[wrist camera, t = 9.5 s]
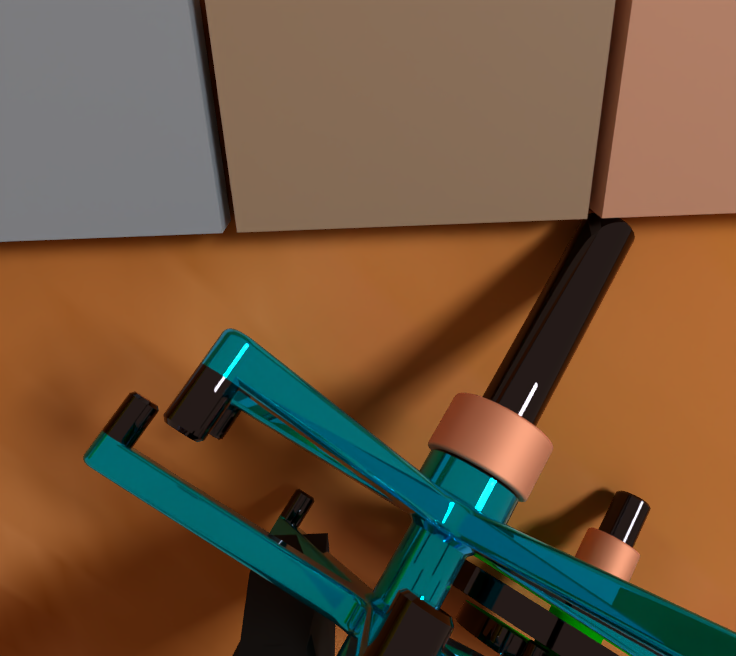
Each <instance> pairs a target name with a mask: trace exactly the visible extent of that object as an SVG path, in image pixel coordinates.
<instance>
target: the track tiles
mask: <svg viewBox="0 0 736 656" xmlns="http://www.w3.org/2000/svg"><path fill="white" fill-rule="evenodd" d="M205 5H206V12H207V20H208V27H209V34H210V41H211V48H212V56H213V63H214V70H215V77H216V84H217V92H218V99H219V106H220V113H221V120H222V128H223V135H224V142H225V149H226V156H227V164H228V171H229V178H230V185H231V192H232V200H233V207H234V214H235V221H236V228H237V232H263V231H288V230H314V229H340V228H365V227H391V226H416V225H442V224H467V223H493V222H519V221H544V220H570V219H587V217H588V209H589V208H590V209H591V210H592V211H593V212H595V213H596V214H597V215H598V216H600V217H601V218H621V217H646V216H672V215H698V214H723V213H736V0H205ZM230 221H231V218H230V211H229V204H228V197H227V190H226V183H225V176H224V169H223V162H222V154H221V147H220V140H219V133H218V126H217V119H216V112H215V105H214V98H213V91H212V84H211V77H210V70H209V63H208V56H207V49H206V42H205V35H204V28H203V21H202V14H201V7H200V0H0V242H7V241H33V240H58V239H84V238H109V237H135V236H161V235H186V234H212V233H223V232H224V230H225V229H226V227H227V226H228V224H229V223H230Z"/></svg>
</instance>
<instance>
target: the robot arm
mask: <svg viewBox="0 0 736 656" xmlns="http://www.w3.org/2000/svg"><path fill="white" fill-rule="evenodd" d="M303 535H304V536H305V537H306V538H308V539H309V540H310V541H311V542H312V543H314V544H315V545H316V546H317V547H319V548H320V549H321V550H322V551H324V552H325V553H326V552H329V542H328V533H322V534H303ZM274 536H275V537H277V538H279V539H280V540H282V541H283V542H285V543H287V544H288V545H290V546H291V547H293V548H295V549H296V550H298V551H299V552H301V553H303V551H302V548H301V546H300V543H299V541H298V537H297V534H295V535H274ZM233 656H335V623H333V622H332V621H330V620H329V619H327V618H326V617H324V616H323V615H321V614H320V613H318V612H316V611H315V610H313V609H312V608H310V607H309V606H307V605H305V604H304V603H302V602H301V601H299V600H298V599H296V598H294V597H293V596H291V595H290V594H288V593H287V592H285V591H283V590H282V589H280V588H279V587H277V586H276V585H274V584H272V583H271V582H269V581H268V580H266V579H265V578H263V577H261V576H260V575H258V574H257V573H255V572H254V571H252V570H251V571H250V574H249V581H248V588H247V596H246V603H245V610H244V618H243V625H242V633H241V640H240V642H239V644H238V646H237V648H236V650H235V652H234V654H233Z"/></svg>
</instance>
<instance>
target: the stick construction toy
mask: <svg viewBox="0 0 736 656" xmlns="http://www.w3.org/2000/svg"><path fill="white" fill-rule="evenodd" d="M634 238H635V236H634V232H633V231H632V229H631V227H630V226H629V225H628V224H627V223H626V222H625V221H624V220H622V219H621V218H601V217H600V216H598V215H597V214H596V213H590V214H588V217H587V219H582V221H581V223H580V224H579V226H578V228H577V230H576V231H575V233H574V235H573V237H572V239H571V240H570V242H569V244H568V246H567V247H566V249H565V251H564V253H563V255H562V256H561V258H560V260H559V262H558V263H557V265H556V267H555V269H554V271H553V272H552V274H551V276H550V278H549V279H548V281H547V283H546V285H545V287H544V288H543V290H542V292H541V294H540V295H539V297H538V299H537V301H536V302H535V304H534V306H533V308H532V310H531V311H530V313H529V315H528V317H527V318H526V320H525V322H524V324H523V326H522V327H521V329H520V331H519V333H518V334H517V336H516V338H515V340H514V342H513V343H512V345H511V347H510V349H509V350H508V352H507V354H506V356H505V358H504V359H503V361H502V363H501V365H500V366H499V368H498V370H497V372H496V374H495V375H494V377H493V379H492V381H491V382H490V384H489V386H488V388H487V389H486V391H485V393H484V395H483V397H481V396H478V395H474V394H470V393H458V394H457V395H455V397H454V399H453V401H452V402H451V404H450V406H449V407H448V409H447V411H446V413H445V414H444V416H443V418H442V420H441V421H440V423H439V425H438V426H437V428H436V430H435V432H434V433H433V435H432V437H431V439H430V440H429V442H428V446H429V448H430V449H431V451H430V453H429V455H428V457H427V458H426V460H425V462H424V464H423V465H422V467H421V469H420V471H419V470H418V469H416V468H415V467H414V466H413V465H411V464H410V463H409V462H407V461H406V460H405V459H404V458H402V457H401V456H400V455H399V454H397V453H396V452H395V451H393V450H392V449H391V448H390V447H388V446H387V445H386V444H385V443H383V442H382V441H381V440H380V439H378V438H377V437H376V436H374V435H373V434H372V433H371V432H369V431H368V430H367V429H366V428H364V427H363V426H362V425H360V424H359V423H358V422H357V421H355V420H354V419H353V418H352V417H350V416H349V415H348V414H347V413H345V412H344V411H343V410H341V409H340V408H339V407H338V406H336V405H335V404H334V403H333V402H331V401H330V400H329V399H327V398H326V397H325V396H324V395H322V394H321V393H320V392H319V391H317V390H316V389H315V388H313V387H312V386H311V385H310V384H308V383H307V382H306V381H305V380H303V379H302V378H301V377H300V376H298V375H297V374H296V373H294V372H293V371H292V370H291V369H289V368H288V367H287V366H286V365H284V364H283V363H282V362H280V361H279V360H278V359H277V358H275V357H274V356H273V355H272V354H270V353H269V352H268V351H266V350H265V349H264V348H263V347H261V346H260V345H259V344H258V343H256V342H255V341H254V340H252V339H251V338H250V337H248V336H247V335H245V334H244V333H242V332H240V331H238V330H236V329H232V328H229V329H226V330H224V331H223V332H222V334H221V335H220V337H219V338H218V339H217V341H216V342H215V343H214V345H213V346H212V348H211V349H210V350H209V352H208V353H207V355H206V356H205V357H204V359H203V360H202V362H201V363H200V364H199V366H198V367H197V369H196V370H195V371H194V373H193V374H192V376H191V377H190V378H189V380H188V381H187V383H186V384H185V385H184V387H183V388H182V390H181V391H180V392H179V394H178V395H177V396H176V398H175V399H174V401H173V402H172V403H171V405H170V406H169V408H168V409H167V410H166V412H165V413H164V420H165V422H166V423H167V424H168V425H170V426H171V427H173V428H174V429H176V430H177V431H179V432H181V433H182V434H184V435H185V436H187V437H189V438H190V439H192V440H194V441H196V442H200V441H204V440H205V439H206V437H207V436H208V434H210V435H212V436H213V437H215V438H217V439H218V440H220V439H223V438H224V436H225V435H226V433H227V432H228V430H229V429H230V427H231V426H232V424H233V423H234V421H235V420H236V419H237V417H238V416H239V414H240V413H241V411H242V412H243V413H245V414H247V415H248V416H250V417H252V418H253V419H255V420H256V421H258V422H260V423H261V424H263V425H264V426H266V427H268V428H269V429H271V430H273V431H274V432H276V433H277V434H279V435H281V436H282V437H284V438H286V439H287V440H289V441H290V442H292V443H294V444H295V445H297V446H299V447H300V448H302V449H303V450H305V451H307V452H308V453H310V454H312V455H313V456H315V457H316V458H318V459H320V460H321V461H323V462H325V463H326V464H328V465H329V466H331V467H333V468H334V469H336V470H338V471H339V472H341V473H342V474H344V475H346V476H347V477H349V478H351V479H352V480H354V481H355V482H357V483H359V484H360V485H362V486H364V487H365V488H367V489H368V490H370V491H372V492H373V493H375V494H377V495H378V496H380V497H381V498H383V499H385V500H386V501H388V502H390V503H391V504H393V505H394V506H396V507H398V508H399V509H401V510H402V511H404V512H406V513H407V514H409V515H410V517H411V521H412V523H411V524H410V526H409V528H408V530H407V532H406V533H405V535H404V537H403V539H402V540H401V542H400V544H399V546H398V548H397V549H396V551H395V553H394V555H393V556H392V558H391V560H390V562H389V563H388V565H387V567H386V569H385V571H384V572H383V574H382V576H381V578H380V579H379V581H378V583H377V585H376V587H375V588H374V590H372V589H371V588H370V587H369V586H367V585H366V584H365V583H364V582H363V581H361V580H360V579H359V578H358V577H357V576H356V575H354V574H353V573H352V572H351V571H350V570H349V569H347V568H346V567H345V566H344V565H343V564H341V563H340V562H339V561H338V560H337V559H336V558H334V557H333V556H332V555H331V554H330V553H329V552H326V553H325V552H324V551H322V550H321V549H320V548H319V547H317V546H316V545H315V544H314V543H312V542H311V541H310V540H309V539H308V538H306V537H305V536H304V535H303V534H306V533H305V532H304V531H303V530H301V529H300V528H299V526H300V524H301V522H302V521H303V519H304V518H305V516H306V514H307V513H308V511H309V509H310V508H311V506H312V505H313V503H314V498H313V497H311V496H310V495H308V494H307V493H305V492H304V491H302V490H300V489H297V490H296V491H295V492H294V494H293V495H292V497H291V499H290V500H289V502H288V503H287V505H286V507H285V508H284V510H283V511H282V513H281V515H280V516H279V518H278V519H277V521H276V523H275V524H274V526H273V527H272V529H271V531H270V533H269V532H267V531H266V530H264V529H263V528H261V527H259V526H258V525H256V524H255V523H253V522H251V521H250V520H248V519H247V518H245V517H243V516H242V515H240V514H239V513H237V512H235V511H234V510H232V509H231V508H229V507H227V506H226V505H224V504H223V503H221V502H219V501H218V500H216V499H215V498H213V497H211V496H210V495H208V494H207V493H205V492H203V491H202V490H200V489H199V488H197V487H195V486H194V485H192V484H191V483H189V482H187V481H186V480H184V479H182V478H181V477H179V476H178V475H176V474H174V473H173V472H171V471H170V470H168V469H166V468H165V467H163V466H162V465H160V464H158V463H157V462H155V461H154V460H152V459H150V458H149V457H147V456H146V455H144V454H142V453H141V452H139V451H138V450H136V449H134V448H133V446H134V445H135V443H136V442H137V440H138V439H139V438H140V436H141V435H142V434H143V432H144V431H145V429H146V428H147V427H148V425H149V424H150V422H151V421H152V420H153V418H154V417H155V415H156V414H157V413H158V411H159V409H158V406H157V405H156V404H154V403H153V402H151V401H150V400H148V399H146V398H145V397H143V396H142V395H140V394H138V393H137V392H131V393H129V395H128V396H127V397H126V399H125V400H124V401H123V403H122V404H121V405H120V407H119V408H118V409H117V411H116V412H115V413H114V415H113V416H112V417H111V419H110V420H109V422H108V423H107V424H106V426H105V427H104V428H103V430H102V431H101V432H100V434H99V435H98V436H97V438H96V439H95V440H94V442H93V443H92V444H91V446H90V447H89V448H88V450H87V451H86V453H85V454H84V456H83V460H84V462H85V463H86V464H87V465H88V466H89V467H90V468H92V469H94V470H95V471H97V472H98V473H100V474H101V475H103V476H105V477H106V478H108V479H109V480H111V481H112V482H114V483H116V484H117V485H119V486H120V487H122V488H123V489H125V490H126V491H128V492H130V493H131V494H133V495H134V496H136V497H137V498H139V499H141V500H142V501H144V502H145V503H147V504H148V505H150V506H152V507H153V508H155V509H156V510H158V511H159V512H161V513H163V514H164V515H166V516H167V517H169V518H170V519H172V520H174V521H175V522H177V523H178V524H180V525H181V526H183V527H185V528H186V529H188V530H189V531H191V532H192V533H194V534H196V535H197V536H199V537H200V538H202V539H203V540H205V541H207V542H208V543H210V544H211V545H213V546H214V547H216V548H218V549H219V550H221V551H222V552H224V553H225V554H227V555H229V556H230V557H232V558H233V559H235V560H236V561H238V562H240V563H241V564H243V565H244V566H246V567H247V568H249V569H250V570H252V571H254V572H255V573H257V574H258V575H260V576H261V577H263V578H265V579H266V580H268V581H269V582H271V583H272V584H274V585H276V586H277V587H279V588H280V589H282V590H283V591H285V592H287V593H288V594H290V595H291V596H293V597H294V598H296V599H298V600H299V601H301V602H302V603H304V604H305V605H307V606H309V607H310V608H312V609H313V610H315V611H316V612H318V613H320V614H321V615H323V616H324V617H326V618H327V619H329V620H330V621H332V622H333V623H335V624H336V625H338V626H339V627H340V628H341V629H343V630H344V631H345V632H346V633H347V634H348V636H347V638H346V640H345V642H344V643H343V645H342V647H341V649H340V650H339V652H338V654H337V656H484V655H482V654H480V653H478V652H476V651H474V650H472V649H470V648H468V647H466V646H464V645H463V644H461V643H459V642H457V641H455V640H453V639H451V638H449V637H450V635H451V633H452V631H453V629H454V625H453V621H452V618H451V616H449V615H448V614H447V613H446V612H444V611H443V610H442V609H440V607H441V605H442V603H443V601H444V599H445V598H446V596H447V594H448V592H449V590H450V588H451V586H452V585H454V586H455V587H457V588H458V589H460V590H461V591H463V592H464V593H466V594H467V595H469V596H470V597H472V598H473V599H475V600H476V601H478V602H479V603H481V604H482V605H484V606H485V607H487V608H488V609H490V610H491V611H493V612H494V613H496V614H497V615H499V616H501V617H502V618H504V619H505V620H507V621H508V622H510V623H511V624H513V625H514V626H516V627H517V628H519V629H520V630H522V631H523V632H525V633H527V634H528V635H530V636H531V637H533V638H534V639H535V641H533V640H530V639H529V638H527V637H526V636H524V635H522V634H521V633H519V632H518V631H516V630H515V629H513V628H512V627H510V626H508V625H507V624H505V623H504V622H502V621H500V620H499V619H497V618H496V617H494V616H492V615H491V614H489V613H488V612H486V611H484V610H483V609H481V608H479V607H478V606H476V605H474V604H473V603H471V602H469V601H467V600H465V602H464V604H463V605H462V607H461V609H460V611H459V613H458V615H457V617H456V621H457V622H458V623H459V624H460V625H461V626H463V627H464V628H465V629H466V630H467V631H469V632H470V633H471V634H473V635H474V636H475V637H477V638H478V639H479V640H481V641H482V642H483V643H485V644H486V645H487V646H489V647H490V648H492V649H493V650H494V651H496V652H497V653H499V654H500V655H502V656H618V655H617V654H615V653H614V652H612V651H611V650H609V649H607V648H606V647H604V646H603V645H601V643H602V640H603V639H605V640H606V641H608V642H609V643H611V644H612V645H614V646H615V647H617V648H618V649H620V650H622V651H623V652H625V653H626V654H628V655H629V656H736V632H734V631H732V630H730V629H728V628H725V627H723V626H721V625H719V624H717V623H715V622H713V621H710V620H708V619H706V618H704V617H702V616H700V615H698V614H696V613H693V612H691V611H689V610H687V609H685V608H683V607H681V606H678V605H676V604H674V603H672V602H670V601H668V600H666V599H664V598H661V597H659V596H657V595H655V594H653V593H651V592H649V591H647V590H644V589H642V588H640V587H638V586H636V585H634V584H632V583H629V581H630V578H631V576H632V574H633V572H634V569H635V567H636V565H637V563H638V561H639V558H640V554H639V553H638V552H637V551H636V550H635V549H634V548H633V547H634V544H635V542H636V540H637V538H638V536H639V533H640V531H641V529H642V527H643V525H644V522H645V520H646V518H647V516H648V514H649V511H650V509H651V508H650V506H649V504H648V503H646V502H645V501H644V500H642V499H641V498H639V497H637V496H635V495H633V494H631V493H628V492H625V491H617V492H616V493H615V495H614V497H613V500H612V502H611V504H610V506H609V508H608V510H607V512H606V514H605V516H604V519H603V521H602V523H601V525H600V527H599V529H595V528H588V530H587V532H586V534H585V536H584V538H583V540H582V543H581V545H580V547H579V549H578V551H577V553H576V555H575V557H574V556H572V555H570V554H568V553H566V552H563V551H561V550H559V549H557V548H555V547H553V546H551V545H549V544H546V543H544V542H542V541H540V540H538V539H536V538H534V537H531V536H529V535H527V534H525V533H523V532H521V531H519V530H517V529H514V528H512V527H510V526H508V525H507V523H508V521H509V519H510V517H511V515H512V513H513V511H514V509H515V507H516V506H517V504H518V501H519V502H525V501H526V500H527V499H528V497H529V495H530V493H531V491H532V489H533V487H534V485H535V483H536V481H537V479H538V477H539V475H540V474H541V472H542V470H543V468H544V466H545V464H546V462H547V460H548V458H549V456H550V454H551V452H552V450H553V445H552V443H551V441H550V439H549V438H548V437H547V436H546V435H545V434H544V433H543V432H542V431H541V430H540V429H538V428H537V427H536V425H537V423H538V422H539V420H540V418H541V416H542V414H543V412H544V410H545V408H546V406H547V405H548V403H549V401H550V399H551V397H552V395H553V393H554V391H555V389H556V387H557V386H558V384H559V382H560V380H561V378H562V376H563V374H564V372H565V370H566V369H567V367H568V365H569V363H570V361H571V359H572V357H573V355H574V353H575V352H576V350H577V348H578V346H579V344H580V342H581V340H582V338H583V336H584V334H585V333H586V331H587V329H588V327H589V325H590V323H591V321H592V319H593V317H594V316H595V314H596V312H597V310H598V308H599V306H600V304H601V302H602V300H603V299H604V297H605V295H606V293H607V291H608V289H609V287H610V285H611V283H612V282H613V280H614V278H615V276H616V274H617V272H618V270H619V268H620V266H621V264H622V263H623V261H624V259H625V257H626V255H627V253H628V251H629V249H630V247H631V246H632V244H633V242H634ZM295 534H297V537H298V541H299V543H300V546H301V548H302V551H303V553H301V552H299V551H298V550H296V549H295V548H293V547H291V546H290V545H288V544H287V543H285V542H283V541H282V540H280V539H279V538H277V537H275V536H274V535H295ZM472 555H474V556H475V557H477V558H479V559H480V560H482V561H483V562H485V563H487V564H488V565H490V566H491V567H493V568H494V569H496V570H497V571H499V572H501V573H502V574H504V575H505V576H507V577H508V578H510V579H511V580H513V581H514V582H516V583H518V584H519V585H521V586H522V587H524V588H525V589H527V590H528V591H530V592H532V593H533V594H535V595H536V596H538V597H539V598H541V599H542V600H544V601H546V602H547V603H549V604H550V605H551V607H550V609H549V611H548V610H546V609H544V608H543V607H541V606H540V605H538V604H536V603H535V602H533V601H532V600H530V599H528V598H527V597H525V596H524V595H522V594H520V593H519V592H517V591H516V590H514V589H512V588H511V587H509V586H508V585H506V584H504V583H503V582H501V581H500V580H498V579H496V578H495V577H493V576H491V575H490V574H488V573H487V572H485V571H483V570H482V569H480V568H479V567H477V566H475V565H474V564H472V563H470V562H468V561H467V560H466V558H467V557H468V556H472Z"/></svg>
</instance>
